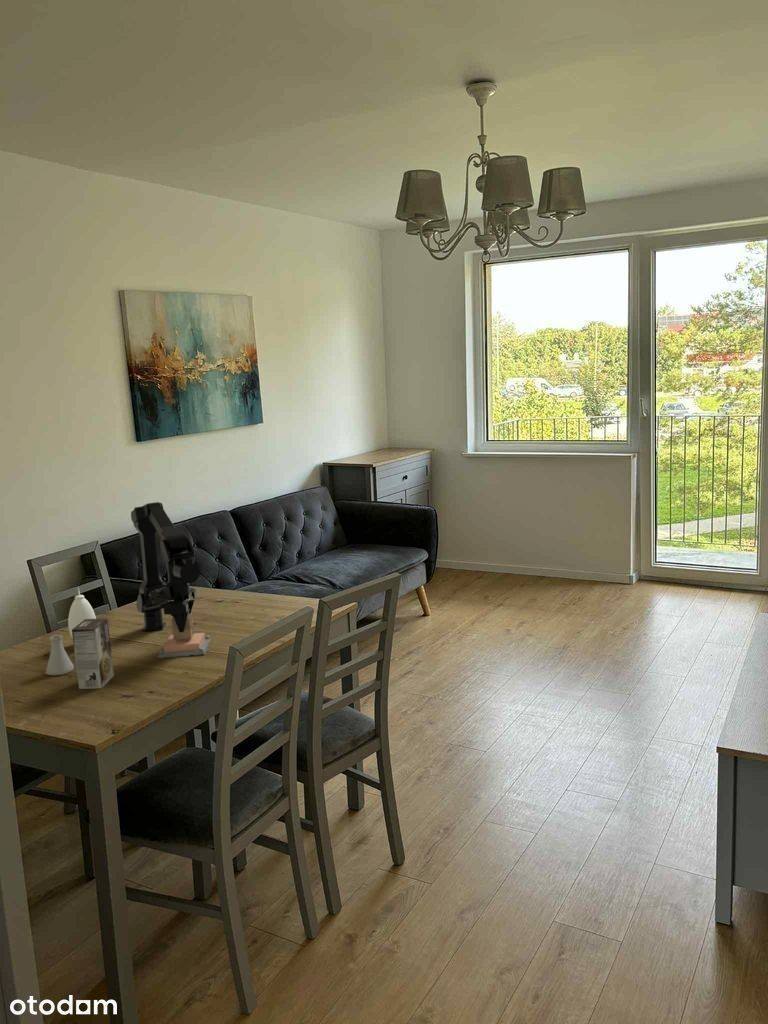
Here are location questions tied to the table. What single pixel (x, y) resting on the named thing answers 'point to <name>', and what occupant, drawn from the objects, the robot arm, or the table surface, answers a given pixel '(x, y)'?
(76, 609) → the sauce bottle
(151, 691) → the table surface
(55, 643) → the flask
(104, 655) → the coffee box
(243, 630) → the table surface
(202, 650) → the brick base
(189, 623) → the tan wooden block
